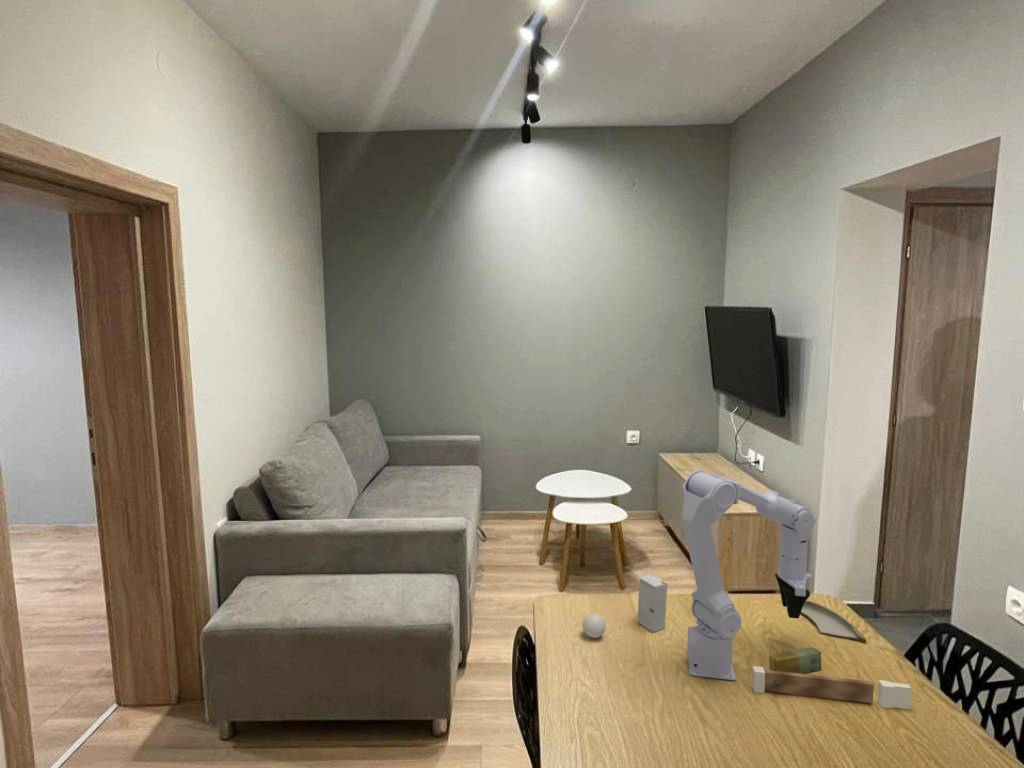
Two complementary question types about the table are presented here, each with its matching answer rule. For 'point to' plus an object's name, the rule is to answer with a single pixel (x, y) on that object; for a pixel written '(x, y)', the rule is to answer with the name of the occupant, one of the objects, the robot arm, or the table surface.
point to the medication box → (796, 661)
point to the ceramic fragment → (830, 622)
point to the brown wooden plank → (819, 686)
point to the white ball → (594, 625)
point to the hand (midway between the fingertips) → (790, 611)
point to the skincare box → (652, 602)
